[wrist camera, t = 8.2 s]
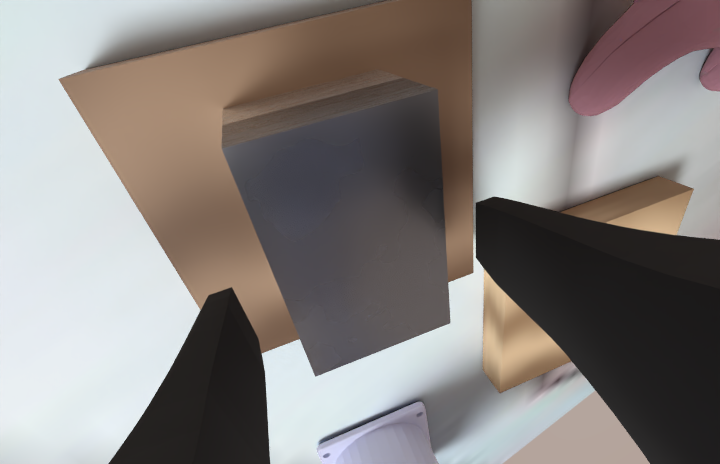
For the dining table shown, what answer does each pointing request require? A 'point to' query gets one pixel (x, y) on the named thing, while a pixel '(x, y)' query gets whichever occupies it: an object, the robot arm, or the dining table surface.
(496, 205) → the robot arm
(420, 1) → the walnut stand
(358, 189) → the grey rectangular block
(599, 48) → the video game controller
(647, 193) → the oak stand
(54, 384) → the dining table surface
